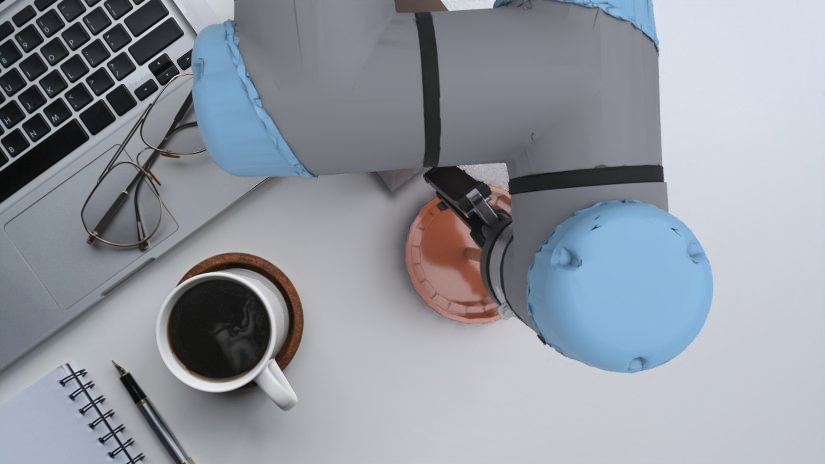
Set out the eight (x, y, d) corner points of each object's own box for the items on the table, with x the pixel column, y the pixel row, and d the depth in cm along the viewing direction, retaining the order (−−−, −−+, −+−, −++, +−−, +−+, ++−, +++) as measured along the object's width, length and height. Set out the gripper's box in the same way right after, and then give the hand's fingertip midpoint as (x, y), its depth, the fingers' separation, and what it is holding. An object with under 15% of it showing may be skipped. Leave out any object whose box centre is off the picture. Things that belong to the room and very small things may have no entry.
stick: (471, 244, 78) (492, 247, 62) (478, 254, 78) (501, 259, 62) (461, 252, 78) (480, 256, 62) (469, 261, 78) (489, 268, 62)
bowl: (480, 162, 79) (487, 156, 73) (559, 263, 79) (573, 265, 73) (379, 241, 78) (378, 242, 72) (458, 342, 79) (464, 351, 73)
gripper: (381, 153, 41) (383, 178, 62) (614, 451, 42) (538, 375, 63) (472, 82, 41) (443, 131, 62) (702, 380, 42) (596, 328, 63)
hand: (490, 253), depth 62 cm, fingers open, 13 cm apart
